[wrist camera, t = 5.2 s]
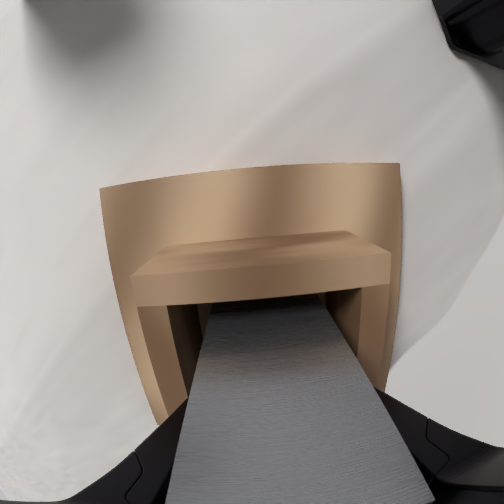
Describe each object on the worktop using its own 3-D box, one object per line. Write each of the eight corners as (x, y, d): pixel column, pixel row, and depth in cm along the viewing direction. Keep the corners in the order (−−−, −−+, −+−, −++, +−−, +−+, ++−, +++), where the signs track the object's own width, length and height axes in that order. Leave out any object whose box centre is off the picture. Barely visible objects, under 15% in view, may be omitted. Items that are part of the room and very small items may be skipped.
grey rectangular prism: (316, 293, 11) (435, 499, 2) (316, 375, 12) (376, 560, 3) (212, 303, 11) (158, 537, 2) (225, 384, 12) (211, 580, 3)
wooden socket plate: (390, 164, 13) (458, 159, 8) (376, 394, 16) (409, 452, 11) (108, 188, 13) (41, 193, 8) (160, 414, 16) (140, 478, 11)
